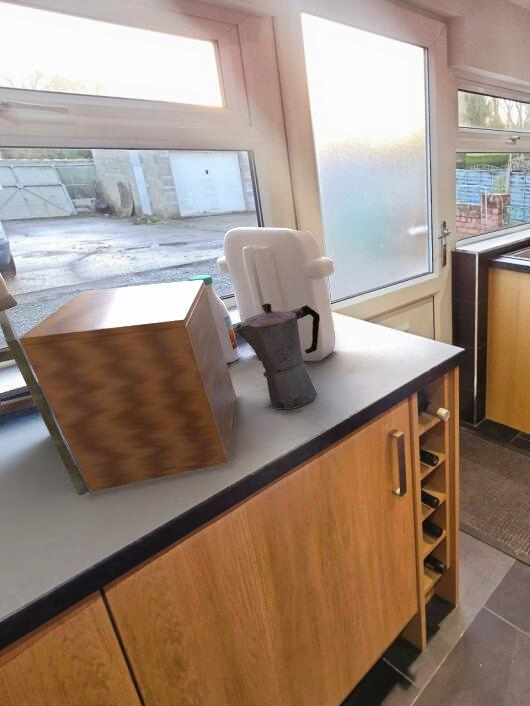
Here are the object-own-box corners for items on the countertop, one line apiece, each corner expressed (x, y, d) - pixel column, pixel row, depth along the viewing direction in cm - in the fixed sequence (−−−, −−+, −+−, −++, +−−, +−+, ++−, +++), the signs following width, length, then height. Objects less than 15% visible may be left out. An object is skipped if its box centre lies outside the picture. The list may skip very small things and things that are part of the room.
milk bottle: (230, 365, 115) (206, 280, 107) (197, 366, 115) (171, 281, 107) (246, 353, 122) (225, 272, 114) (215, 353, 122) (192, 273, 114)
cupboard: (89, 492, 72) (18, 338, 62) (130, 415, 94) (82, 291, 84) (227, 463, 79) (183, 319, 69) (236, 397, 101) (203, 279, 90)
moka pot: (246, 404, 97) (219, 306, 89) (319, 380, 108) (302, 289, 99) (267, 420, 92) (240, 316, 83) (342, 393, 102) (325, 298, 93)
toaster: (226, 359, 119) (190, 230, 106) (257, 343, 129) (227, 223, 116) (328, 368, 113) (303, 233, 101) (352, 350, 123) (332, 225, 110)
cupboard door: (25, 514, 68) (-62, 354, 58) (10, 445, 84) (-60, 310, 74) (87, 491, 72) (16, 339, 62) (61, 430, 89) (1, 301, 79)
